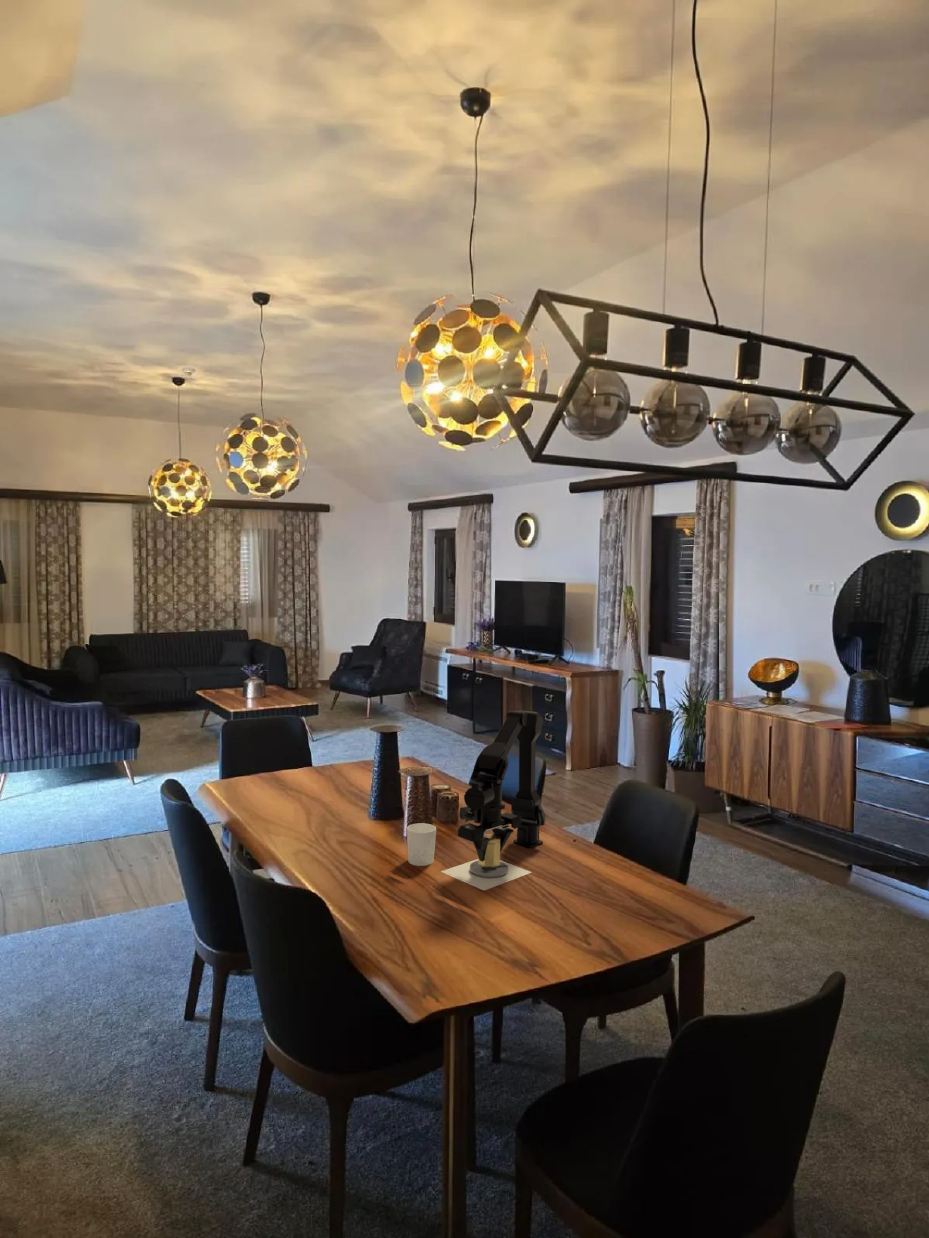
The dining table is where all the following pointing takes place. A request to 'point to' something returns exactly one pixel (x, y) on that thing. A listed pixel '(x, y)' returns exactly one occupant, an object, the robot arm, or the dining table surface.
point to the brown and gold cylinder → (492, 851)
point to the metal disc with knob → (488, 870)
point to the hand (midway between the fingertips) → (489, 858)
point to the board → (466, 876)
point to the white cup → (421, 843)
